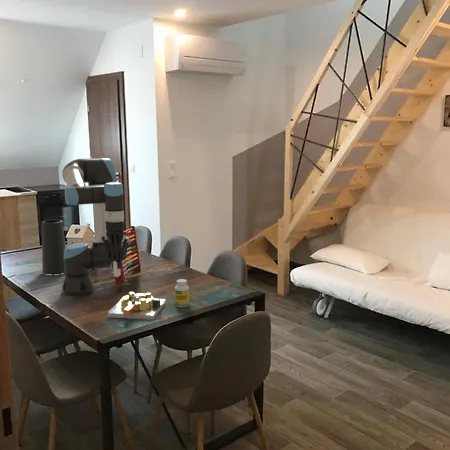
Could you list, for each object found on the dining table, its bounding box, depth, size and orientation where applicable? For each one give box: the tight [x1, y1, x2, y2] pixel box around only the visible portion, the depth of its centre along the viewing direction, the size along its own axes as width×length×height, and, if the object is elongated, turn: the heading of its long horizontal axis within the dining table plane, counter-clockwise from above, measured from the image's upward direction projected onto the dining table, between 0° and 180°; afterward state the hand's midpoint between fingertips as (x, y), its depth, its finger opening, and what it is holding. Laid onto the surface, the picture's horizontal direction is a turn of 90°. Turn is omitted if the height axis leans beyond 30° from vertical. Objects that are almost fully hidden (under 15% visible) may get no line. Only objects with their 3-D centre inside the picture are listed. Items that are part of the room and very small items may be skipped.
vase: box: [41, 219, 67, 275], centre depth 281 cm, size 14×14×29 cm
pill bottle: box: [174, 278, 190, 308], centre depth 232 cm, size 6×6×12 cm
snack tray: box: [120, 291, 155, 317], centre depth 222 cm, size 21×13×4 cm, turn 172°
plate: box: [107, 295, 166, 321], centre depth 226 cm, size 21×20×6 cm
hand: (117, 275), depth 215 cm, fingers closed
